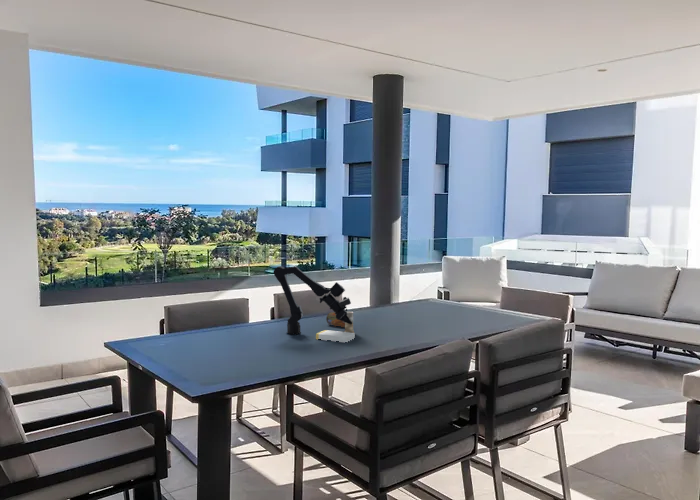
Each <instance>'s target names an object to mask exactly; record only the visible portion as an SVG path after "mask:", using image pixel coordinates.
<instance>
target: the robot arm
mask: <svg viewBox="0 0 700 500" xmlns="http://www.w3.org/2000/svg"><path fill="white" fill-rule="evenodd" d="M291 274H293V275H294V276H296V277H297V278H298V279H299V280H300V281H302V282H303V283H304V284H306V285H307V286H308V287H309V289H311V290H312V292H313V293H314V294H315V296H316V297H319V303H320V304H321V303H322V302H324V303H325V304H326V305H327V306H328V308H329V310H331V311H332V312H335V314H336V319H337V320H341V321H344V322H346V323H348V324H352V322H351V320H350V319H349V318H348V316H347V312H348V308H347V306H349V305H351V304H352V301H351V299H350V297H346V296H344V297H343V298H342V299H341V300H338V299H337V298H339V297H340V296H341V295H342V294H344V292H346V289H345V288H344V286H342V285H341V284H339V283H338V281H337V282H334V284H333V285H332V286H331V287H326V286H324V285H323V284H321V283H319V282H317V281H315V280H313V278H311V277H310V276H308V275H307V274H306V273H305V272H303V270H301V269H300V268H299V267H298V266H296V265H294V266H287V267H286V266H281V265H279V266H277V267H275V268H274V269H273V275H274V276H275V278H276V280H277V282H279V284H280V287H282V288H281V289H282V290H283V293H284V295H285V299H286V301H287V304H288V306H289V312H290V316H289V318H288V319H287V322H286V323H287V324H286V325H287V330H286V331H287V332H286V333H289V334H288V335H293V334H296V335H298V333H299V334H301V333H302V332H301V325H300V322H299V321H300V320H302V318H303V315H304V314H303V313H304V310H303V309H302V305H301V304H300V305H298V303H297V302H296V299H295V297H294V295H293V292H292V289H291V287H290V285H289V282H288V279H287V277H288V275H291Z"/></svg>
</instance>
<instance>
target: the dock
mask: <svg viewBox="0 0 700 500" xmlns="http://www.w3.org/2000/svg"><path fill="white" fill-rule="evenodd" d="M355 335H356V333H355V332H354V333H350V332H344V331H337V330H330V329H329V330H328V329H324V330H322V331H318V332H317V333H315V340H318V339H321V340H320V341H327V340H331V341H330V342H336V341H339V342H338V343H345V342H347V343H348V341H349V342H351V341H353V340H355V339H354V338H356V336H355ZM352 339H353V340H352ZM350 340H351V341H350Z"/></svg>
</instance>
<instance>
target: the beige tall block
mask: <svg viewBox="0 0 700 500" xmlns="http://www.w3.org/2000/svg"><path fill="white" fill-rule="evenodd" d="M347 316H348V318H349V319H350V320H351V322H352V324H348V323H346V322H345V327H344V331H343V332H350V333H355V331H354V311H347Z"/></svg>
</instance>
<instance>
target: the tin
mask: <svg viewBox="0 0 700 500" xmlns="http://www.w3.org/2000/svg"><path fill="white" fill-rule="evenodd" d="M326 322H327V324H328V325H329V326H330V325H335V326H334V327H336V326H341V327H340V328H345V322H344V321H341V320H337V319H336V314H335V312H334V311H332V312H329V313H327V315H326Z"/></svg>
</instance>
